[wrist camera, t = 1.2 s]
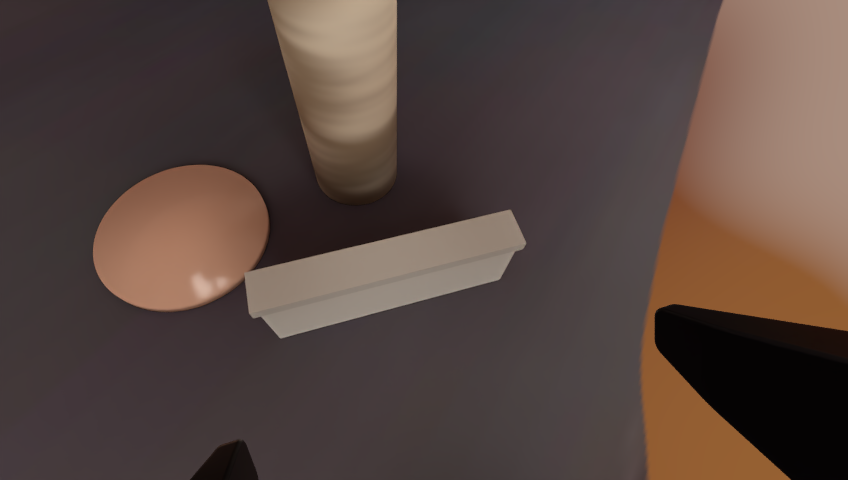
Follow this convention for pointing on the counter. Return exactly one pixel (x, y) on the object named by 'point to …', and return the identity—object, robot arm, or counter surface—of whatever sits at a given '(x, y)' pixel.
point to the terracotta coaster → (181, 238)
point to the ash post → (344, 90)
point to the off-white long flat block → (382, 274)
